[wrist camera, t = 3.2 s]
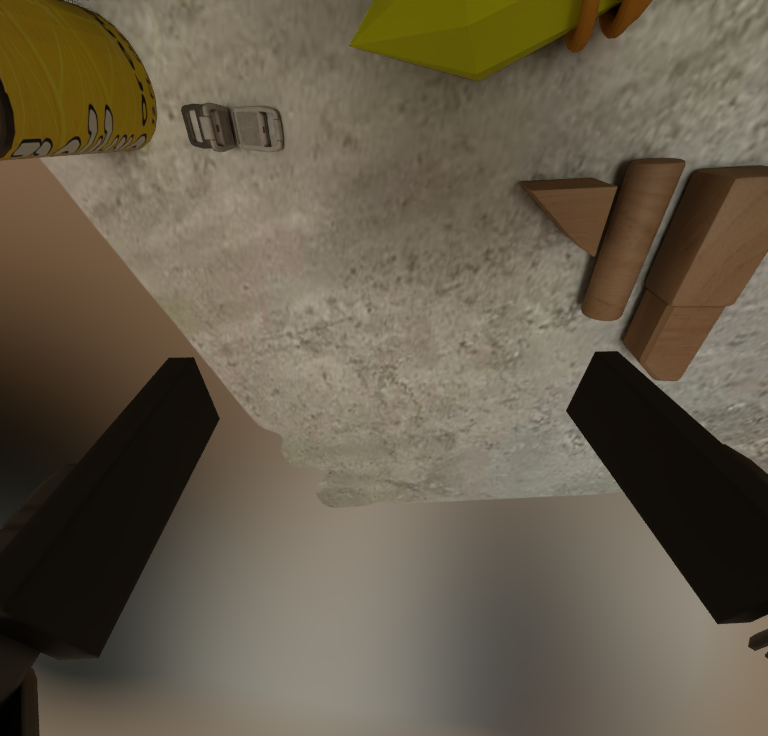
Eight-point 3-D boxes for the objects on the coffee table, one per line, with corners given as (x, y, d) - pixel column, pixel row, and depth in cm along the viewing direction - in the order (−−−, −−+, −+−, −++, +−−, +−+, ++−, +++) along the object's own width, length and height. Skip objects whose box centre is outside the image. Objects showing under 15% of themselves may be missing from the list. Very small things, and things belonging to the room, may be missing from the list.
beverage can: (28, 65, 27) (-202, 31, 17) (73, -32, 23) (-194, -144, 13) (125, 172, 31) (-19, 192, 21) (176, 105, 27) (29, 94, 17)
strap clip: (280, 107, 26) (255, 103, 22) (286, 152, 27) (264, 155, 24) (183, 103, 27) (145, 99, 23) (195, 147, 28) (161, 150, 25)
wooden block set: (850, 155, 18) (691, 391, 29) (770, 150, 23) (658, 356, 34) (538, 174, 21) (498, 383, 32) (521, 165, 25) (491, 351, 36)
